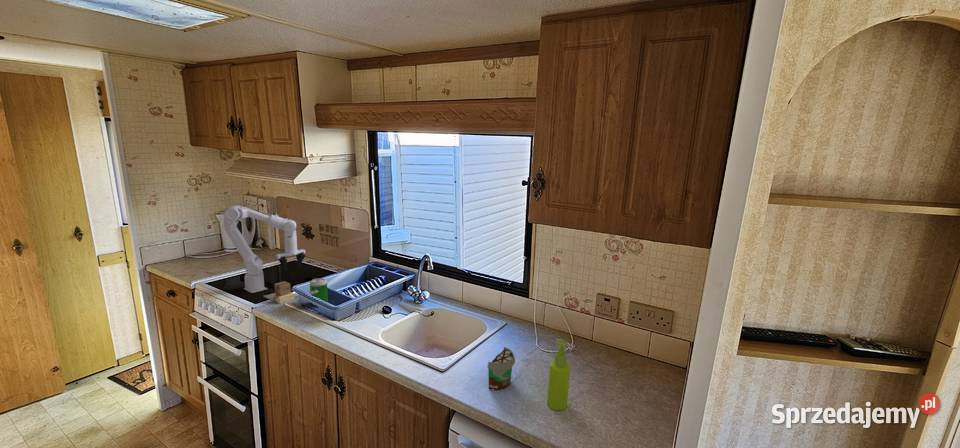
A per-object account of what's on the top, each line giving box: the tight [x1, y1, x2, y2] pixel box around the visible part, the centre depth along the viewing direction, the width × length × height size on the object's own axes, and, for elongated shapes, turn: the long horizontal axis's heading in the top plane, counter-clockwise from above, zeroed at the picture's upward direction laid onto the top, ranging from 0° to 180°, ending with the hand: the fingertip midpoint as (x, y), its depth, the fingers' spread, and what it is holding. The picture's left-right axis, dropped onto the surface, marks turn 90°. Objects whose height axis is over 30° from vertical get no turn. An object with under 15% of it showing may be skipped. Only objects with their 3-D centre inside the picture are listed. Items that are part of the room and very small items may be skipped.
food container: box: [487, 346, 516, 391], centre depth 130 cm, size 12×6×10 cm, turn 151°
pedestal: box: [271, 291, 295, 305], centre depth 192 cm, size 7×7×3 cm
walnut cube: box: [274, 280, 292, 296], centre depth 191 cm, size 5×5×5 cm
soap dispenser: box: [546, 338, 571, 411], centre depth 121 cm, size 6×7×20 cm
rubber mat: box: [263, 292, 299, 305], centre depth 196 cm, size 15×11×1 cm
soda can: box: [309, 277, 329, 302], centre depth 189 cm, size 8×8×12 cm
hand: (292, 269), depth 208 cm, fingers open, 7 cm apart
